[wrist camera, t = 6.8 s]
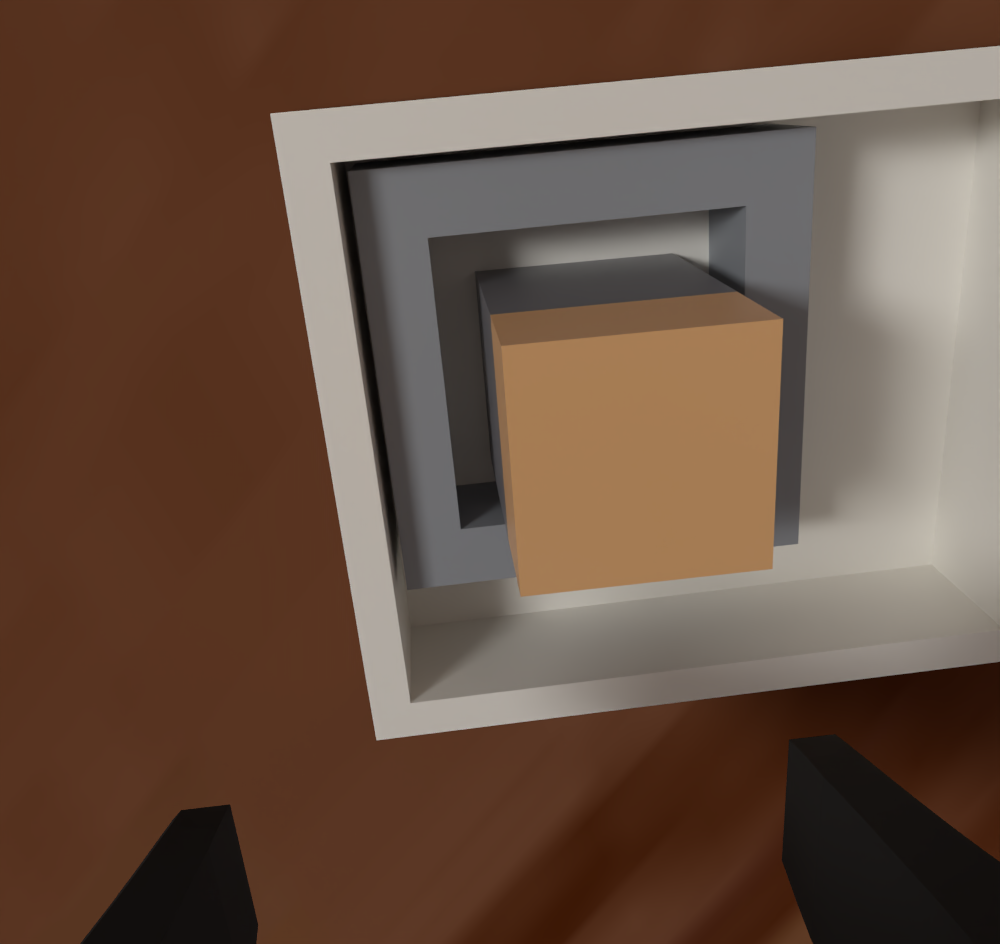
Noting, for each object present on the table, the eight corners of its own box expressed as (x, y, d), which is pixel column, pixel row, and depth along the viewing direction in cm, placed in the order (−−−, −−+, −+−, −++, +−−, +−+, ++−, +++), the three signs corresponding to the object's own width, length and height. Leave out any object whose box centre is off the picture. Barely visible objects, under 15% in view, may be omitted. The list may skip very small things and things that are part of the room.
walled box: (1008, 45, 18) (1138, 33, 15) (946, 577, 23) (1035, 657, 19) (297, 111, 17) (270, 113, 14) (381, 646, 22) (376, 740, 19)
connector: (672, 253, 18) (783, 318, 13) (672, 438, 20) (772, 569, 14) (474, 271, 18) (501, 345, 13) (490, 457, 20) (520, 596, 14)
